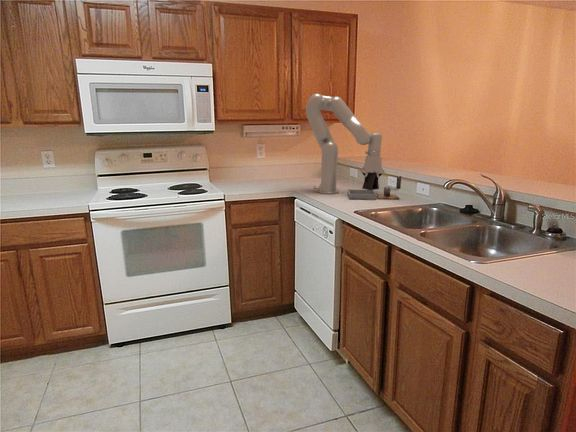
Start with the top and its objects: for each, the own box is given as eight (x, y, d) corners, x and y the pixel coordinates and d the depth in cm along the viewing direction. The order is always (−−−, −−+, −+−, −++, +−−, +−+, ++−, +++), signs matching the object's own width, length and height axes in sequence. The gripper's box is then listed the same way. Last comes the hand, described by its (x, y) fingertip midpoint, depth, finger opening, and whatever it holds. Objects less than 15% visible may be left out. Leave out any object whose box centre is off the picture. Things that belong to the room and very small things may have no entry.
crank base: (377, 199, 222) (377, 197, 222) (374, 195, 233) (375, 193, 233) (399, 199, 221) (399, 197, 221) (395, 195, 232) (395, 193, 232)
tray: (349, 199, 221) (349, 194, 220) (347, 194, 237) (347, 189, 236) (376, 200, 220) (376, 194, 219) (372, 194, 236) (373, 190, 235)
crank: (382, 195, 226) (383, 175, 224) (385, 194, 229) (386, 174, 227) (398, 197, 221) (400, 176, 218) (400, 196, 224) (402, 176, 221)
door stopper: (370, 190, 236) (371, 170, 233) (362, 188, 240) (363, 169, 238) (379, 189, 242) (380, 169, 239) (371, 187, 246) (372, 168, 243)
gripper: (360, 153, 233) (357, 183, 237) (389, 155, 232) (386, 185, 236) (359, 152, 240) (356, 181, 245) (387, 154, 239) (384, 183, 243)
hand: (371, 183), depth 240 cm, fingers closed on door stopper, 5 cm apart
